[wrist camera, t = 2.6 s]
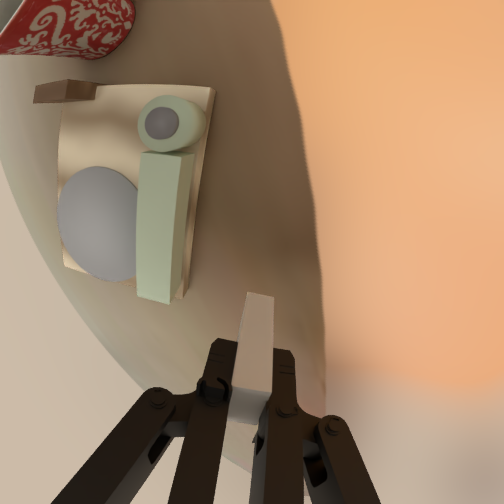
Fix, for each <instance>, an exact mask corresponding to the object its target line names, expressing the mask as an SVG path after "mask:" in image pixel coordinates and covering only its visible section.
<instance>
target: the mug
mask: <svg viewBox="0 0 504 504" xmlns="http://www.w3.org/2000/svg"><path fill="white" fill-rule="evenodd" d="M134 17H135V8H134V5H133V3H132V2H131V1H130V0H0V55H19V54H22V55H46V56H57V57H72V58H79V59H86V60H93V59H98V58H101V57H103V56H105V55H107V54H108V53H110V52H111V51H113V50H114V49H115V48H116V47H117V46H118V45H119V44H120V43H121V42H122V41H123V40H124V38H125V37H126V36H127V34H128V32H129V31H130V29H131V27H132V24H133V21H134Z"/></svg>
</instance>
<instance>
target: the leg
mask: <svg viewBox="0 0 504 504" xmlns="http://www.w3.org/2000/svg"><path fill="white" fill-rule="evenodd" d="M205 128H206V117H205V114H204V112H203V110H202V109H201V108H200V107H199V106H198V105H197V104H196V103H194V102H191V101H188V100H185V99H182V98H179V97H176V96H173V95H162V96H158V97H156V98H154V99H152V100H151V101H149V102H148V103H147V104H146V105H145V106H144V108H143V109H142V111H141V113H140V115H139V118H138V133H139V136H140V139H141V140H142V142H143V143H144V144H145V145H146V146H147V147H148V148H150V149H152V150H150V151H146V152H141V158H140V169H139V181H138V195H137V216H136V281H137V296H139V297H142V298H146V299H150V300H153V301H157V302H161V303H165V304H169V305H170V303H171V301H172V299H173V298H174V296H175V294H176V292H177V290H178V288H179V287H180V285H181V272H182V259H183V247H184V236H185V226H186V217H187V208H188V200H189V192H190V184H191V177H192V169H193V163H194V156H195V153H190V152H182V151H174V150H176V149H181V148H186V147H189V146H192V145H193V144H195V143H196V142H197V141H199V139H200V138H201V137H202V135H203V133H204V131H205Z"/></svg>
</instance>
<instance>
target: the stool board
mask: <svg viewBox="0 0 504 504" xmlns="http://www.w3.org/2000/svg"><path fill="white" fill-rule="evenodd" d="M215 93H216V91H215V90H213V89H212V88H210V87H200V86H186V85H165V84H128V85H104V84H98V83H91V82H84V81H77V80H69V79H68V80H62V81H56V82H51V83H47V84H42V85H38V86H36V88H35V94H34V101H33V103H63V106H62V114H61V122H60V133H59V147H58V200H59V197H60V194H61V191H62V189H63V187H64V185H65V184H66V182H67V181H68V180H69V179H70V178H71V177H72V176H73V175H74V174H75V173H77V172H79V171H80V170H83V169H85V168H89V167H95V166H97V167H106V168H110V169H113V170H115V171H117V172H119V173H121V174H122V175H123V176H125V177H126V178H127V179H128V180H129V181H131V182H132V183H133V184H134V186H135V187H136V188H137V189H138V181H139V169H140V158H141V152H146V151H150V150H152V149H150V148H148V147H147V146H146V145H145V144H144V143H143V142H142V140H141V139H140V136H139V133H138V118H139V115H140V113H141V111H142V109H143V108H144V106H145V105H146V104H147V103H148V102H149V101H151V100H152V99H154V98H156V97H158V96H162V95H173V96H176V97H179V98H182V99H185V100H188V101H191V102H194V103H196V104H197V105H198V106H199V107H200V108H201V109H202V110H203V112H204V114H205V117H206V128H205V131H204V133H203V135H202V137H201V138H200V139H199V141H197V142H196V143H195V144H193V145H192V146H189V147H186V148H181V149H176V150H174V151H182V152H190V153H195V156H194V163H193V169H192V177H191V184H190V192H189V200H188V208H187V217H186V226H185V236H184V247H183V259H182V272H181V285H180V287H179V288H178V290H177V292H176V294H175V296H174V297H175V298H179V299H183V297H184V295H185V293H186V291H187V289H188V285H189V273H190V262H191V252H192V243H193V234H194V225H195V217H196V209H197V201H198V193H199V186H200V179H201V173H202V166H203V160H204V153H205V147H206V141H207V136H208V130H209V124H210V119H211V114H212V108H213V103H214V98H215ZM60 236H61V235H60ZM61 245H62V253H63V260H64V266H66V267H69V268H72V269H75V270H78V271H81V272H84V273H87V272H86V271H85V270H83V269H82V268H81V267H80V266H79V265H78V264H77V263H76V262H75V261H74V260H73V258H72V257H71V256H70V254H69V253H68V251H67V249H66V247H65V246H64V243H63V241H62V239H61ZM88 274H89V273H88ZM118 283H121V284H125V285H128V286H132V287H136V288H137V281H136V275H135V276H133V277H132V278H130V279H127V280H124V281H119V282H118Z"/></svg>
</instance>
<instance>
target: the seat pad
mask: <svg viewBox="0 0 504 504" xmlns="http://www.w3.org/2000/svg"><path fill="white" fill-rule="evenodd" d="M137 195H138V189H137V188H136V187H135V186H134V184H133V183H132V182H131V181H129V180H128V179H127V178H126V177H125V176H123V175H122V174H121V173H119V172H117V171H115V170H113V169H110V168H106V167H97V166H95V167H89V168H85V169H83V170H80V171H79V172H77V173H75V174H74V175H73V176H72V177H71V178H70V179H69V180H68V181H67V182H66V184H65V185H64V187H63V189H62V191H61V194H60V197H59V200H58V206H57V222H58V228H59V232H60V235H61V239H62V241H63V243H64V246H65V247H66V249H67V251H68V253H69V254H70V256H71V257H72V258H73V260H74V261H75V262H76V263H77V264H78V265H79V266H80V267H81V268H82V269H83V270H85V271H86V272H87V273H89V274H90V275H92V276H94V277H96V278H98V279H101V280H105V281H111V282H119V281H124V280H127V279H130V278H132V277H133V276H135V275H136V216H137Z"/></svg>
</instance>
